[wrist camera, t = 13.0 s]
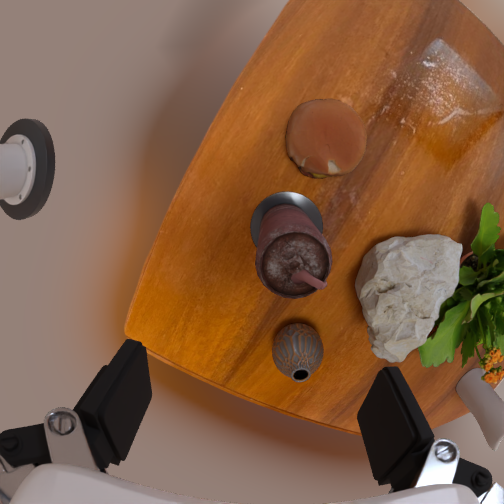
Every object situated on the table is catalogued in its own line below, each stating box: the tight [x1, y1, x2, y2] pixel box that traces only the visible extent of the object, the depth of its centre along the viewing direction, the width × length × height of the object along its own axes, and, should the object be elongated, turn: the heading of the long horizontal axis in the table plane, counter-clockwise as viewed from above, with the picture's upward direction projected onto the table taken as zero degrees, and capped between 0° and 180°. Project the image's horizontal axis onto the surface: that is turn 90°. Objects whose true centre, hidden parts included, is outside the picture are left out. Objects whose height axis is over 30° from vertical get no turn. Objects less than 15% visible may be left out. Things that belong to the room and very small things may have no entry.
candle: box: [456, 368, 504, 451], centre depth 32 cm, size 7×14×20 cm, turn 78°
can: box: [255, 204, 332, 299], centre depth 28 cm, size 6×6×14 cm
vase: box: [272, 323, 323, 382], centre depth 35 cm, size 7×7×9 cm
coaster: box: [250, 191, 323, 247], centre depth 35 cm, size 9×9×1 cm
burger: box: [285, 99, 367, 178], centre depth 29 cm, size 10×9×5 cm
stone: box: [355, 234, 463, 362], centre depth 30 cm, size 16×10×15 cm, turn 106°
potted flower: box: [418, 203, 504, 384], centre depth 26 cm, size 25×24×18 cm
